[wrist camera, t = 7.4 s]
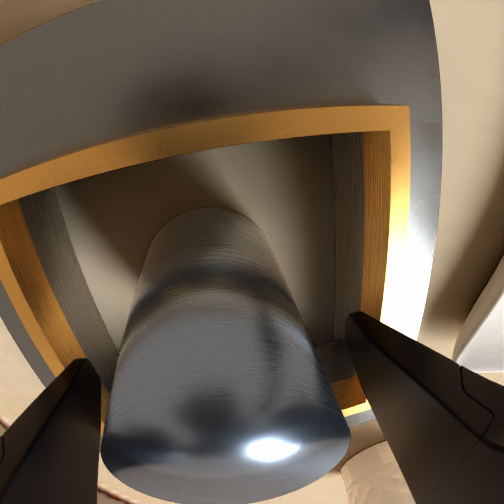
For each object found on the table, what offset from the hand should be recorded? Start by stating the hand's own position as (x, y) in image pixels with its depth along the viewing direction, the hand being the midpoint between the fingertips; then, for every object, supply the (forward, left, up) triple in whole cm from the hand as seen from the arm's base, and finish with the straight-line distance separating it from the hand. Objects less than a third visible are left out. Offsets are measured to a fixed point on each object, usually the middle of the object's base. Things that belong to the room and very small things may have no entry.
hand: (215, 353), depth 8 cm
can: (0, 0, -4) cm, 4 cm away
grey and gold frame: (0, 0, -4) cm, 4 cm away
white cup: (-10, +22, -5) cm, 25 cm away
